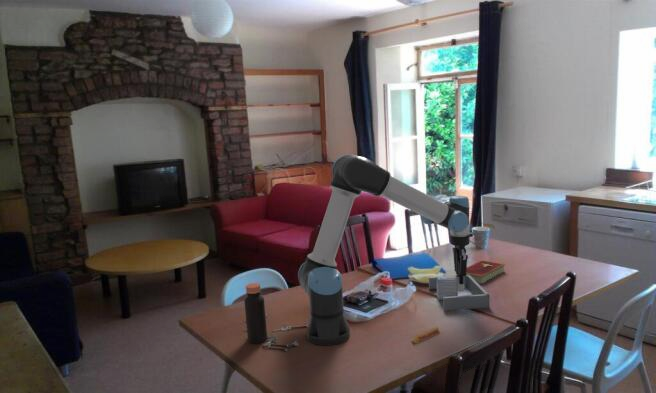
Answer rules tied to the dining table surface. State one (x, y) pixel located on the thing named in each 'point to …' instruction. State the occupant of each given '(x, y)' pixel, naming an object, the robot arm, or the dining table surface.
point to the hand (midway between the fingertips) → (460, 290)
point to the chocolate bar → (425, 335)
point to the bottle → (255, 314)
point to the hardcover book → (484, 270)
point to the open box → (467, 301)
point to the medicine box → (447, 286)
